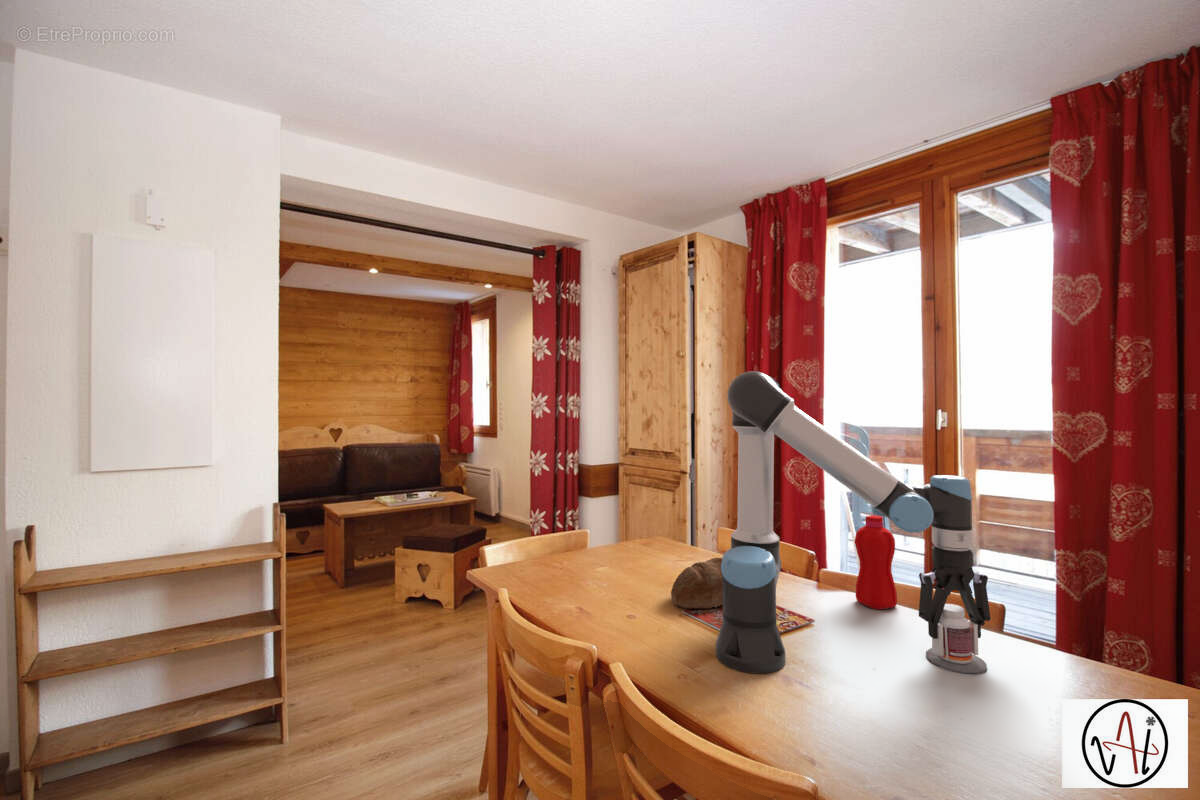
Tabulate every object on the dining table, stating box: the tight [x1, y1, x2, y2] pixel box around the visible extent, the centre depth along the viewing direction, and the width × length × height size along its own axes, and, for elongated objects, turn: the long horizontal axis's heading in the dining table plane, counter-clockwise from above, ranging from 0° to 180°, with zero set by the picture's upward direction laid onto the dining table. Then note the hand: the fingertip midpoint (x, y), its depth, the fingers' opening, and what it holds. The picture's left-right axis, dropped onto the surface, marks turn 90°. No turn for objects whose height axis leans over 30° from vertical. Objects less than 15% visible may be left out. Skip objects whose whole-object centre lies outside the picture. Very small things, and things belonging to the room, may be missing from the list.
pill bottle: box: [939, 603, 972, 664], centre depth 115 cm, size 6×6×11 cm
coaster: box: [925, 647, 988, 675], centre depth 115 cm, size 11×11×1 cm
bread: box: [670, 557, 723, 609], centre depth 157 cm, size 16×29×11 cm, turn 123°
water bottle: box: [854, 514, 898, 611], centre depth 151 cm, size 9×11×25 cm
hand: (955, 652), depth 115 cm, fingers open, 7 cm apart
